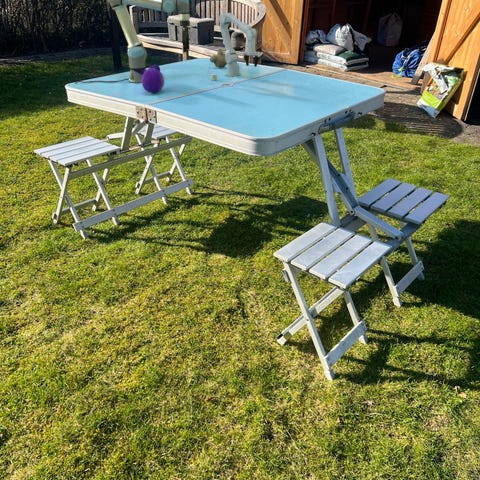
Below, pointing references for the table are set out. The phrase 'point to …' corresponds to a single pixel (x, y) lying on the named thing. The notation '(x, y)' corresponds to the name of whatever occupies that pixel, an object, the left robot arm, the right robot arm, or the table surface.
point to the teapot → (219, 59)
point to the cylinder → (214, 77)
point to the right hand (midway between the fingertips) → (251, 66)
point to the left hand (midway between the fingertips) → (186, 50)
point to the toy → (152, 79)
